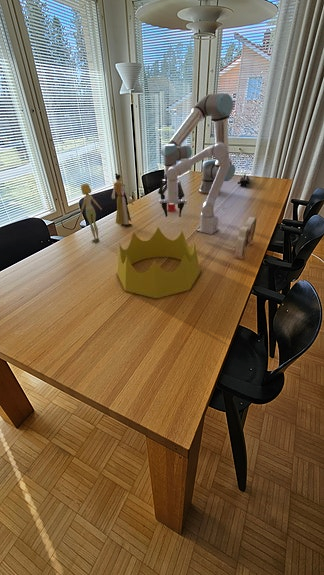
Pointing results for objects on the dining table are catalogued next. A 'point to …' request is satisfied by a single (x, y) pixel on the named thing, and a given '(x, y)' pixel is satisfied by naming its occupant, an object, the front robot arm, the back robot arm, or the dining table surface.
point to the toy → (244, 181)
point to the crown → (155, 278)
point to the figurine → (121, 203)
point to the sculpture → (90, 209)
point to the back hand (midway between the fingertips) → (171, 206)
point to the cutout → (245, 236)
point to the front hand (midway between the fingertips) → (173, 216)
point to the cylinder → (171, 207)
